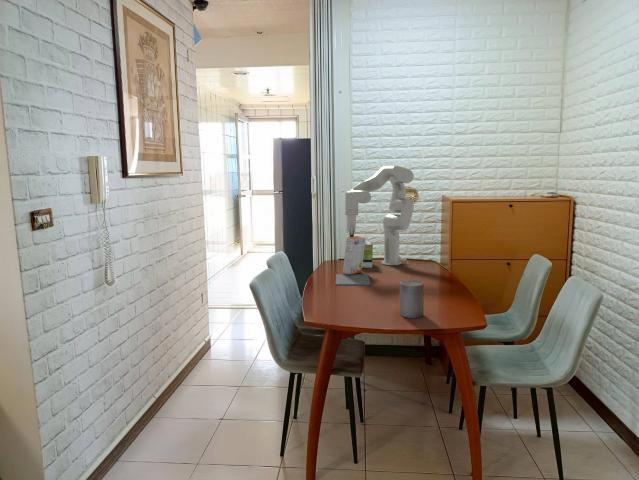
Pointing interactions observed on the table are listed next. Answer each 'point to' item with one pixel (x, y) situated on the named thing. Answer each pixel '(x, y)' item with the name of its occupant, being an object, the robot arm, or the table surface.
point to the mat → (352, 279)
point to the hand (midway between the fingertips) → (351, 243)
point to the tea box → (367, 255)
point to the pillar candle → (411, 298)
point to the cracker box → (354, 255)
